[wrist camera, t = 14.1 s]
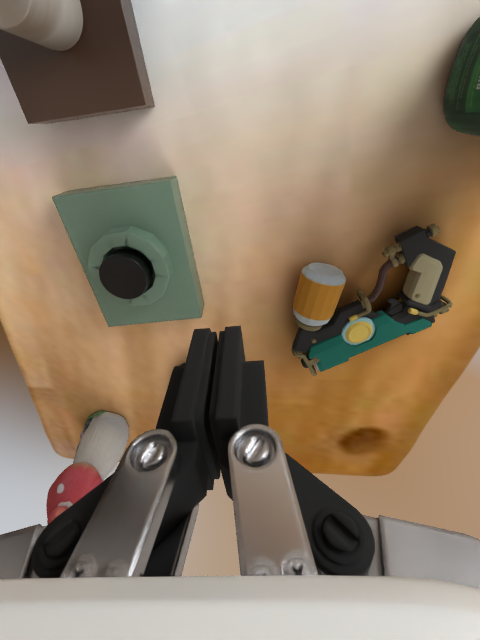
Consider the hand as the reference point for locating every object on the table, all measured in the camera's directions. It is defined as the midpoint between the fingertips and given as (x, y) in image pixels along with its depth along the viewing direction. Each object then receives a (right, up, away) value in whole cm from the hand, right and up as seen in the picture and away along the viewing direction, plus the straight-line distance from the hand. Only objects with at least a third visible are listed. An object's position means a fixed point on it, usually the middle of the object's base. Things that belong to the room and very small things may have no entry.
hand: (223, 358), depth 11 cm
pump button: (-9, +6, +15) cm, 19 cm away
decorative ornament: (-19, -14, +33) cm, 41 cm away
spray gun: (+14, +4, +21) cm, 26 cm away
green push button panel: (-9, +8, +19) cm, 22 cm away
